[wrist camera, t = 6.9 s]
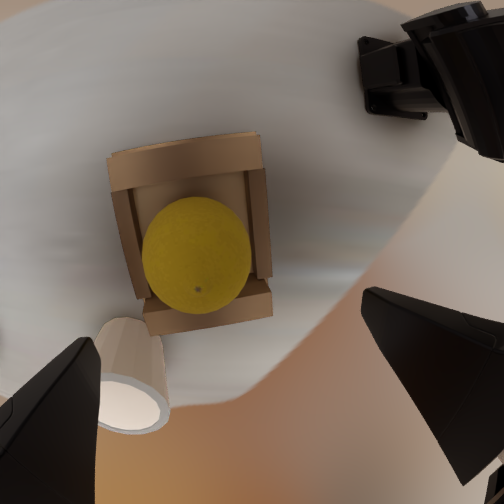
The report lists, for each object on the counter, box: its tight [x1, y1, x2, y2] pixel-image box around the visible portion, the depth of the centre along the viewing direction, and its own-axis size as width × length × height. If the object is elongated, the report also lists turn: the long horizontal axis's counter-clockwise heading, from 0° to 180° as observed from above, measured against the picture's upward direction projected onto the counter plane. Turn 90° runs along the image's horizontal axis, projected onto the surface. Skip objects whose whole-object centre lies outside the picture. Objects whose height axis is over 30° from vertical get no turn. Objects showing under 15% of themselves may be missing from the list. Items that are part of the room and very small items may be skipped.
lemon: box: [142, 197, 251, 314], centre depth 15 cm, size 6×6×8 cm
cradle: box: [106, 132, 273, 337], centre depth 17 cm, size 9×12×4 cm
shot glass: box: [94, 317, 170, 434], centre depth 18 cm, size 7×7×7 cm
